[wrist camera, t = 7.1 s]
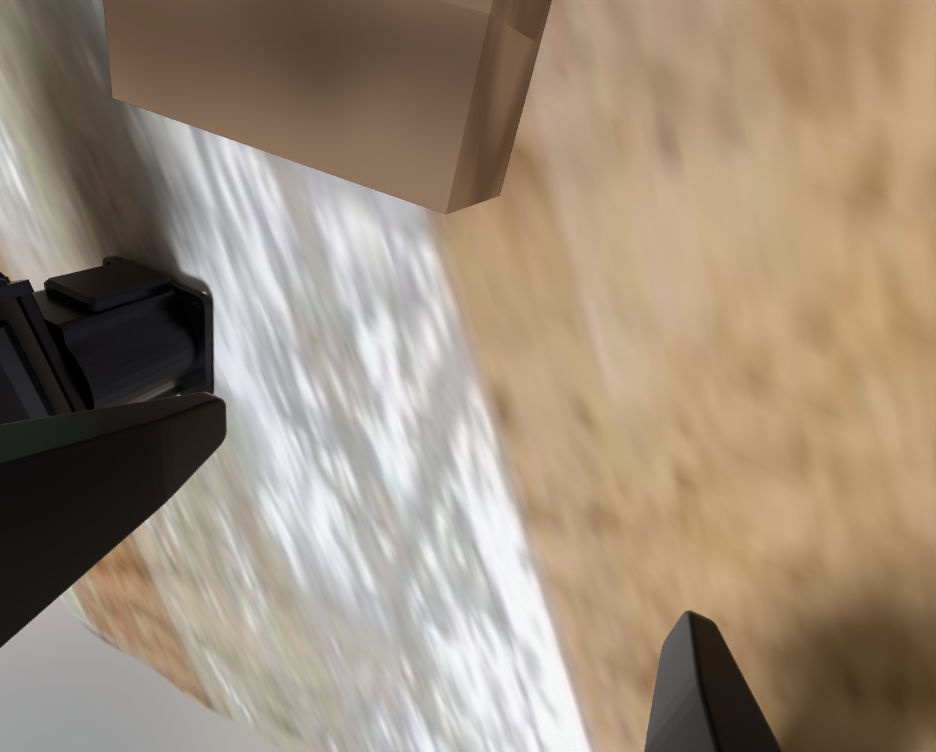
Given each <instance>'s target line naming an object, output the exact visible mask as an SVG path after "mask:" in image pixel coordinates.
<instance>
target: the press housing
mask: <svg viewBox="0 0 936 752" xmlns="http://www.w3.org/2000/svg"><path fill="white" fill-rule="evenodd" d="M551 1H552V0H103V2H104V12H105V23H106V34H107V44H108V55H109V66H110V76H111V87H112V98H114V99H117V100H120V101H122V102H125V103H128V104H131V105H134V106H137V107H140V108H142V109H145V110H148V111H151V112H154V113H157V114H160V115H162V116H165V117H168V118H171V119H174V120H177V121H180V122H182V123H185V124H188V125H191V126H194V127H197V128H200V129H202V130H205V131H208V132H211V133H214V134H217V135H220V136H222V137H225V138H228V139H231V140H234V141H237V142H240V143H242V144H245V145H248V146H251V147H254V148H257V149H260V150H262V151H265V152H268V153H271V154H274V155H277V156H280V157H283V158H285V159H288V160H291V161H294V162H297V163H300V164H303V165H305V166H308V167H311V168H314V169H317V170H320V171H323V172H325V173H328V174H331V175H334V176H337V177H340V178H343V179H345V180H348V181H351V182H354V183H357V184H360V185H363V186H365V187H368V188H371V189H374V190H377V191H380V192H383V193H385V194H388V195H391V196H394V197H397V198H400V199H403V200H405V201H408V202H411V203H414V204H417V205H420V206H423V207H425V208H428V209H431V210H434V211H437V212H440V213H443V214H445V215H446V214H449V213H452V212H455V211H457V210H460V209H463V208H466V207H469V206H472V205H474V204H477V203H480V202H483V201H486V200H489V199H491V198H494V197H497V196H500V192H501V188H502V185H503V181H504V177H505V173H506V170H507V166H508V162H509V158H510V155H511V151H512V147H513V143H514V140H515V136H516V132H517V128H518V125H519V121H520V117H521V113H522V110H523V106H524V102H525V98H526V95H527V91H528V87H529V83H530V80H531V76H532V72H533V68H534V65H535V61H536V57H537V53H538V50H539V46H540V42H541V38H542V35H543V31H544V27H545V23H546V20H547V16H548V12H549V8H550V5H551Z"/></svg>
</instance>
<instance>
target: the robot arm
mask: <svg viewBox="0 0 936 752" xmlns="http://www.w3.org/2000/svg"><path fill="white" fill-rule="evenodd" d="M44 288H45V290H41V291H37V292H34V290H33V288H32V286H31V284H30V282H29V279H27V280H19V281H10V280H9V278H8V277H6V276H4V275H3V274H2V273H1V272H0V648H1V647H2V646H3V645H4V644H5V643H6V642H8V641H9V640H10V639H11V638H12V637H13V636H14V635H16V634H17V633H18V632H19V631H20V630H21V629H22V628H24V627H25V626H26V625H27V624H28V623H29V622H30V621H32V620H33V619H34V618H35V617H36V616H37V615H38V614H39V613H41V612H42V611H43V610H44V609H45V608H46V607H48V606H49V605H50V604H51V603H52V602H53V601H54V600H56V598H58V597H59V596H60V595H61V594H62V593H64V592H65V591H66V590H67V589H68V588H69V587H70V586H72V585H73V584H74V583H75V582H76V581H77V580H78V579H80V578H81V577H82V576H83V575H84V574H85V573H86V572H87V571H89V570H90V569H91V568H92V567H93V566H94V565H95V564H97V563H98V562H99V561H100V560H101V559H102V558H103V557H105V556H106V555H107V554H108V553H109V552H110V551H111V550H113V549H114V548H115V547H116V546H117V545H118V544H119V543H121V542H122V541H123V540H124V539H125V538H126V537H127V536H129V535H130V534H131V533H132V532H133V531H134V530H135V529H137V528H138V527H139V526H140V525H141V524H142V523H143V522H145V521H146V520H147V519H148V518H149V517H150V516H151V515H153V514H154V513H155V512H156V511H157V510H158V509H159V508H160V507H161V506H163V505H164V504H165V503H166V502H167V501H168V500H169V499H170V498H171V497H172V496H173V495H174V494H175V493H176V492H177V491H178V490H179V489H180V488H181V487H182V485H183V484H184V483H185V482H186V481H187V480H188V479H189V478H190V477H191V476H192V475H193V474H194V473H195V472H196V471H197V470H198V469H199V467H200V466H201V465H202V464H203V463H204V462H205V461H206V460H207V459H208V458H209V457H210V456H211V455H212V454H213V453H214V452H215V451H216V449H217V448H218V447H219V446H220V445H221V444H222V442H223V441H224V439H225V437H226V432H227V427H226V404H225V402H224V400H223V399H221V398H219V397H217V396H215V395H213V394H212V350H211V303H210V300H209V298H208V297H207V296H206V295H205V294H203V293H201V292H199V291H197V290H194V289H192V288H190V287H187V286H185V285H183V284H180V283H178V282H176V281H173V280H171V279H169V278H168V277H166V276H165V275H162V274H160V273H158V272H155V271H153V270H151V269H148V268H146V267H144V266H141V265H139V264H137V263H134V262H132V261H129V260H124V259H122V258H119V257H117V256H110V257H106V258H104V259H103V266H100V267H96V268H92V269H87V270H83V271H79V272H74V273H70V274H66V275H61V276H57V277H53V278H49V279H48V280H47V281H45V282H44ZM178 394H180V396H176V395H178ZM644 752H783V751H782V749H781V747H780V745H779V743H778V742H777V740H776V738H775V736H774V734H773V732H772V730H771V728H770V726H769V724H768V722H767V721H766V719H765V717H764V715H763V713H762V711H761V709H760V707H759V705H758V703H757V701H756V700H755V698H754V696H753V694H752V692H751V690H750V688H749V686H748V684H747V682H746V680H745V679H744V677H743V675H742V673H741V671H740V669H739V667H738V665H737V663H736V661H735V659H734V658H733V656H732V654H731V652H730V650H729V648H728V646H727V644H726V642H725V640H724V638H723V637H722V635H721V633H720V631H719V629H718V627H717V625H716V624H715V623H714V622H713V621H712V620H711V619H709V618H706V617H704V616H702V615H700V614H698V613H695V612H693V611H686V612H684V613H683V615H682V616H681V617H680V619H679V620H678V622H677V623H676V625H675V626H674V628H673V629H672V631H671V632H670V633H669V635H668V636H667V638H666V640H665V642H664V644H663V647H662V650H661V654H660V660H659V666H658V672H657V678H656V684H655V689H654V695H653V701H652V707H651V713H650V719H649V725H648V731H647V737H646V744H645V751H644Z"/></svg>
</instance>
